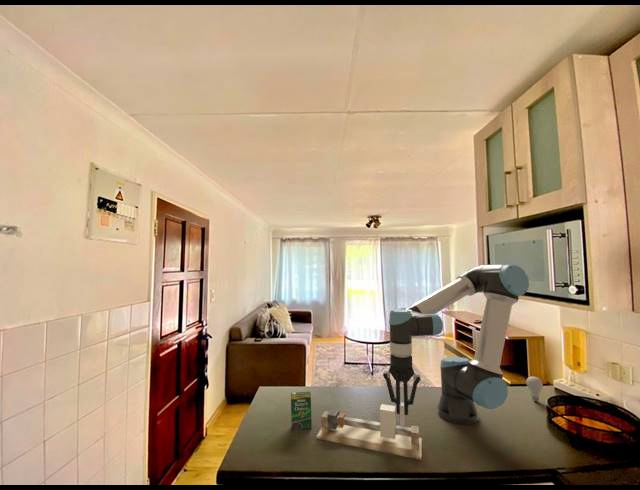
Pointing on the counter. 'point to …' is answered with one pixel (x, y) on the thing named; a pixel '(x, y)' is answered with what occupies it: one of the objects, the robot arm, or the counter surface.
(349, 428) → the stand
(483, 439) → the counter surface
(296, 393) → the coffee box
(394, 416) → the sleeve
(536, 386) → the lightbulb
